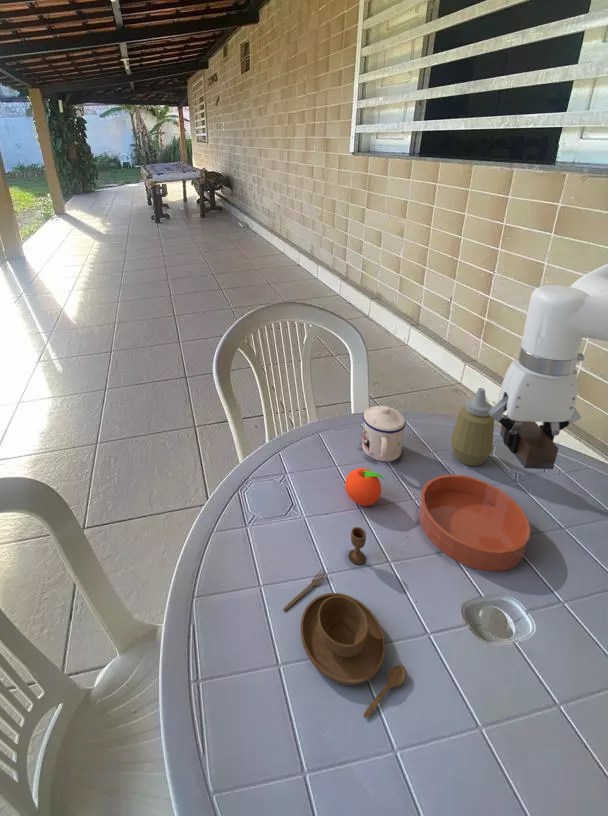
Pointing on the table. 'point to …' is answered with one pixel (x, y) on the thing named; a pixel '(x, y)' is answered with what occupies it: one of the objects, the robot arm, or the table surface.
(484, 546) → the bowl
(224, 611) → the table surface
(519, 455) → the eraser
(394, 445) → the teacup with lid
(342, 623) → the place setting
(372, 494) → the clementine
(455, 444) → the squeeze bottle
